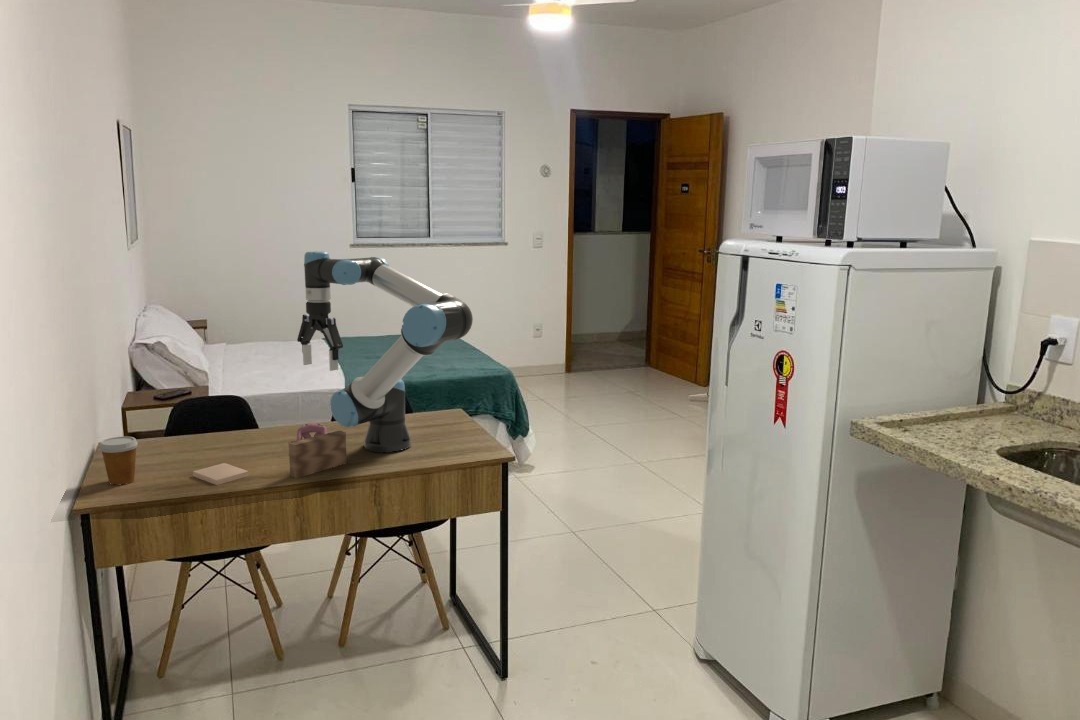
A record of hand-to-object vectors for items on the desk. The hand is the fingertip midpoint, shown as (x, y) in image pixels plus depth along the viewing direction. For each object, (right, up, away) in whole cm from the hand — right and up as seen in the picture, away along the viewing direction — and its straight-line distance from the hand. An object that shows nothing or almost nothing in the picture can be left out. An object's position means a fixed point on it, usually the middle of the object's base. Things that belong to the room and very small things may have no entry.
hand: (320, 367), depth 253 cm
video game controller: (-6, -25, +12) cm, 29 cm away
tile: (-19, -30, -20) cm, 41 cm away
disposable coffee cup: (-48, -32, -30) cm, 65 cm away
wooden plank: (+4, -30, -16) cm, 35 cm away
